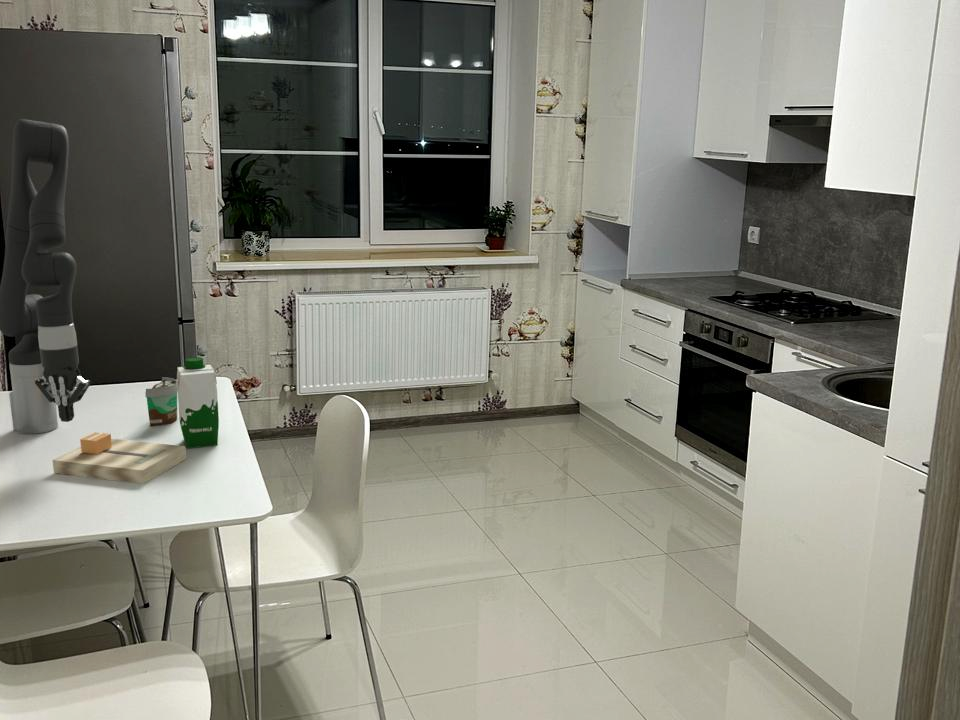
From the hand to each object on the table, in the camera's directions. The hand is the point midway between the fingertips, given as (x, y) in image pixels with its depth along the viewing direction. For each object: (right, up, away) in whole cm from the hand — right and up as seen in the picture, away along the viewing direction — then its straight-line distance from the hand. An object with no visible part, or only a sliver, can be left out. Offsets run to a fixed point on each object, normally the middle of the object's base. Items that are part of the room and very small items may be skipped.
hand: (67, 420), depth 202 cm
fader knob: (+7, -6, -1) cm, 9 cm away
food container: (+12, -2, +31) cm, 33 cm away
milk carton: (+25, -6, +15) cm, 30 cm away
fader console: (+13, -10, -1) cm, 16 cm away
